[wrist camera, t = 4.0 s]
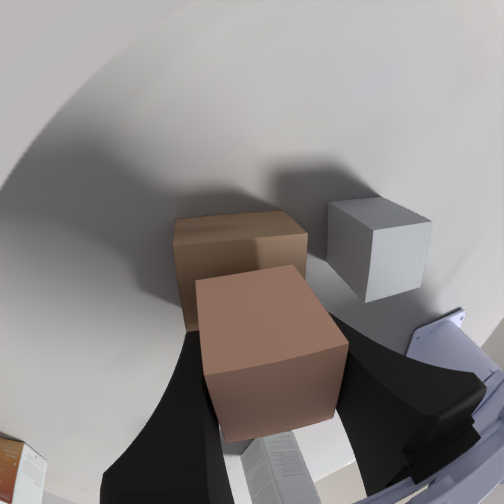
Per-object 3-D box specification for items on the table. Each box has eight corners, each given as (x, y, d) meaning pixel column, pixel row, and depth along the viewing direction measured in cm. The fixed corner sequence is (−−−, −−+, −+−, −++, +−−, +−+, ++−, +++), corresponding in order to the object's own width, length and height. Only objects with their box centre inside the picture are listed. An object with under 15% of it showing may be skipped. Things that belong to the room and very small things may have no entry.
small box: (25, 441, 22) (12, 505, 12) (48, 461, 24) (41, 521, 15) (-9, 434, 21) (-23, 490, 11) (14, 454, 23) (4, 507, 14)
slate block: (376, 252, 19) (420, 287, 15) (326, 261, 19) (364, 303, 14) (380, 196, 17) (432, 221, 13) (327, 201, 17) (373, 230, 12)
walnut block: (279, 297, 19) (299, 335, 16) (188, 308, 18) (190, 351, 15) (282, 209, 17) (307, 233, 13) (176, 217, 16) (172, 246, 12)
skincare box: (271, 454, 29) (298, 536, 18) (239, 455, 27) (261, 543, 17) (295, 429, 27) (331, 521, 16) (259, 430, 26) (291, 531, 15)
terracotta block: (293, 337, 14) (332, 417, 9) (211, 353, 13) (226, 443, 9) (293, 264, 12) (349, 343, 8) (195, 280, 11) (203, 375, 7)
